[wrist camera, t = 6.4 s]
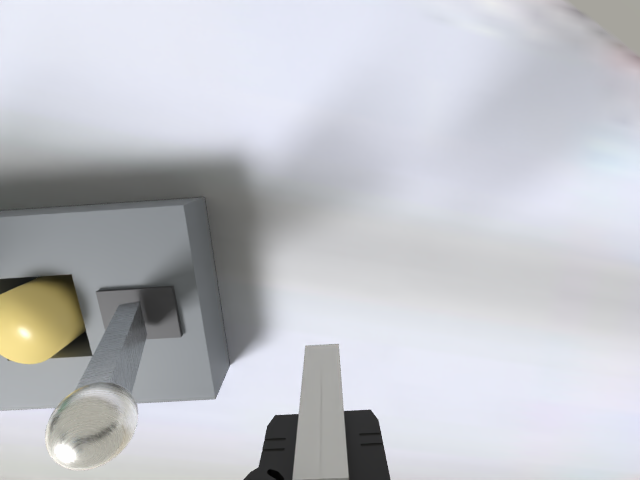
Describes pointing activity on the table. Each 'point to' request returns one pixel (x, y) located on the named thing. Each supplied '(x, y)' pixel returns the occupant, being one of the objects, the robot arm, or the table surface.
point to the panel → (121, 295)
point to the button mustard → (39, 319)
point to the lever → (101, 398)
